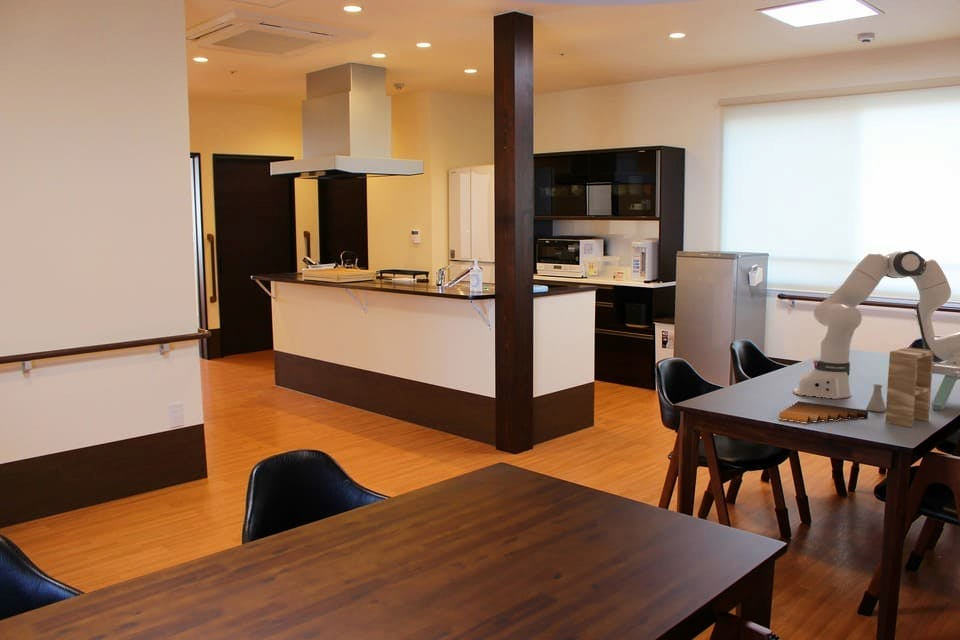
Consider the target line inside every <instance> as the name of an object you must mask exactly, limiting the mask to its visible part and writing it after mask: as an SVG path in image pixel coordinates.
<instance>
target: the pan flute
mask: <svg viewBox="0 0 960 640" xmlns="http://www.w3.org/2000/svg"><path fill="white" fill-rule="evenodd" d="M849 417H850V418H858V417H864V418H863V419H868V417H869V410H866V409H859V408H852V407H845V406H837V405H831V404H830V405H829V404H823V403H816V402H815V403H814V402H806V401H800V400H799V401H797V402H795V403H794V404H792V405H791V406H790V405H789V407H786V408H785V409H784V410H782V411H780V413H779V415H778V419H779V418H781V419H787V420H793V421H799V422H806V423H808V422H809V421H816V422H818V421H819V420H824V421H828V420H829V419H833V420H838V419H839V418H841V419H848V418H849ZM850 418H849V419H850ZM841 419H839V420H841ZM849 419H848V420H849ZM858 419H859V418H858ZM839 420H838V421H839ZM829 421H830V420H829ZM829 421H828V422H829ZM819 422H820V421H819ZM819 422H818V423H819ZM808 424H809V423H808Z"/></svg>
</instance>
